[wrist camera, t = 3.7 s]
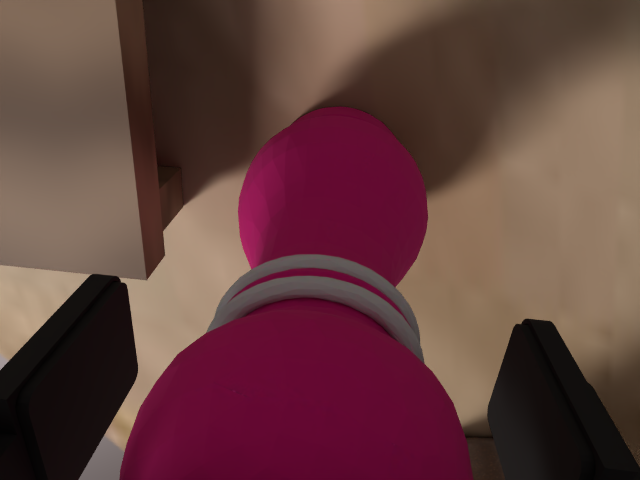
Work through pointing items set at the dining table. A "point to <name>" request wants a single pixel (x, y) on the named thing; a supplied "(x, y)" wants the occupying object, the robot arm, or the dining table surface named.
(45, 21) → the wooden stool
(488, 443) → the plant pot
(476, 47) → the dining table surface
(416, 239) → the pepper mill
